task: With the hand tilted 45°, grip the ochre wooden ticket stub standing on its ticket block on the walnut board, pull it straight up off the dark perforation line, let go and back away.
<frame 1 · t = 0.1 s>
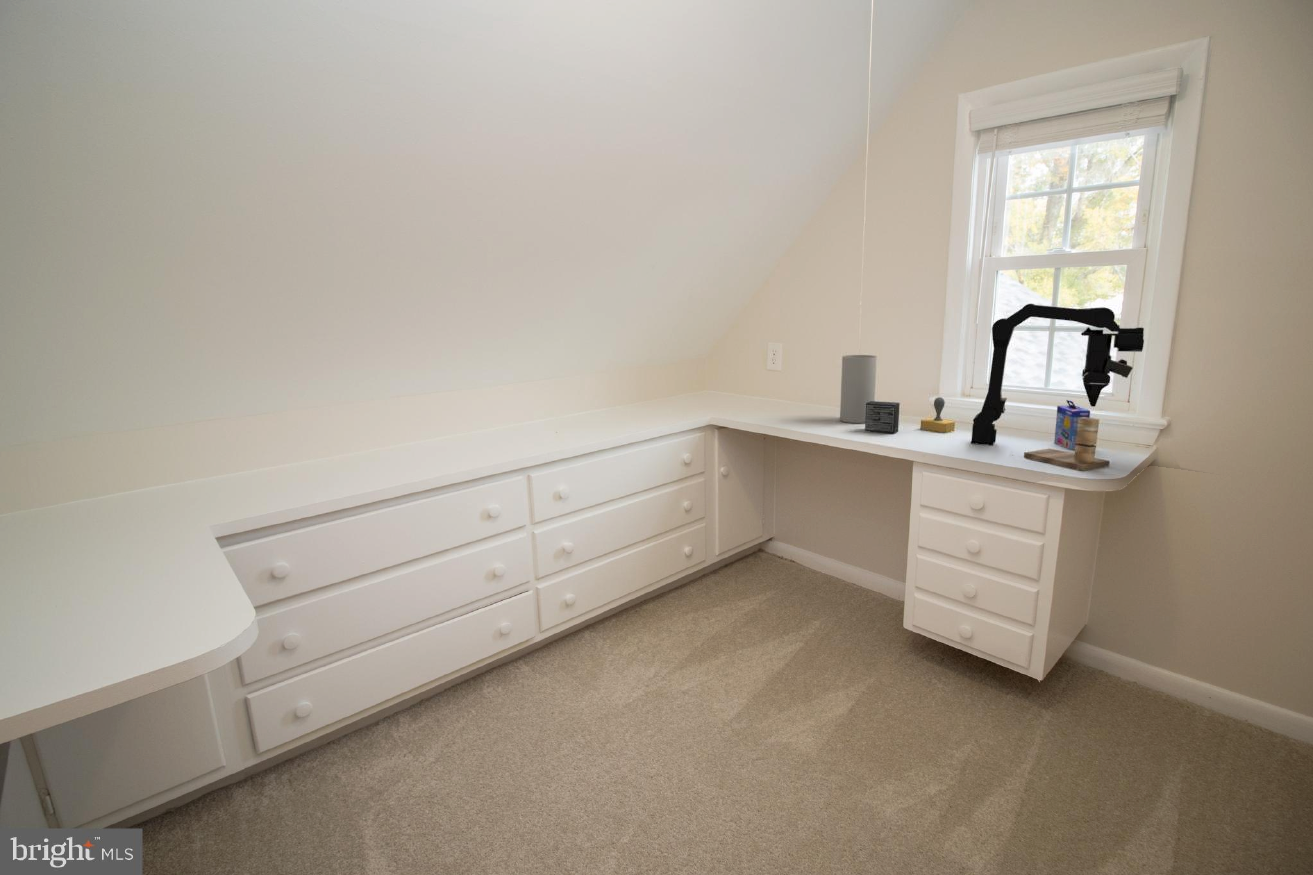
hand: (1092, 404, 192), 15 cm above the table, tool pointing down, fingers open, 9 cm apart
small box: (881, 431, 231), on the table
rubber stamp: (937, 431, 231), on the table
ink cartridge box: (1069, 446, 203), on the table
stub: (1087, 431, 178), point 10 cm above the table, slide at 0.0 cm
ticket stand: (1083, 465, 180), on the table
cylinder vase: (856, 421, 251), on the table
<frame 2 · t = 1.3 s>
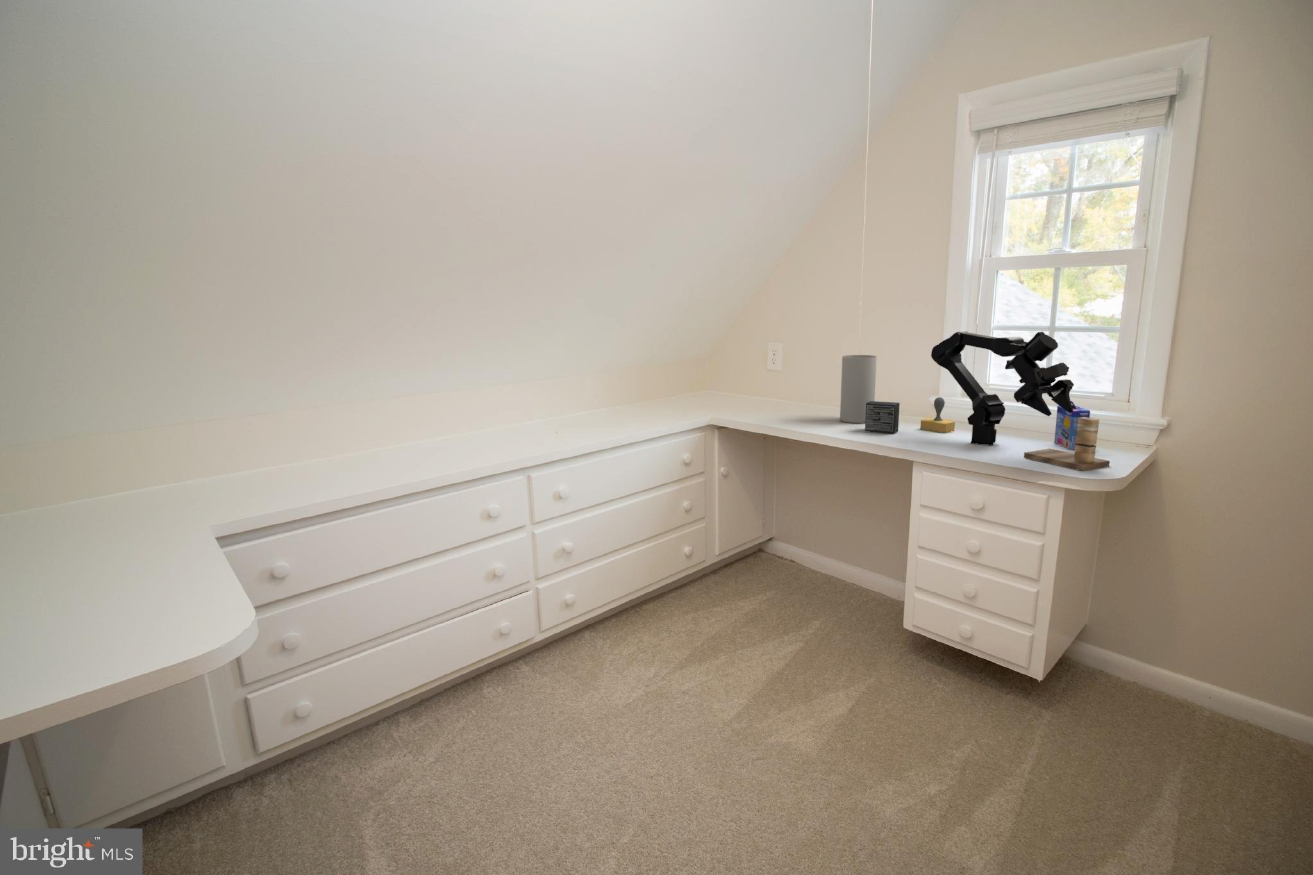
hand: (1061, 413, 184), 13 cm above the table, tool tilted 45°, fingers open, 9 cm apart
nothing on the table moved.
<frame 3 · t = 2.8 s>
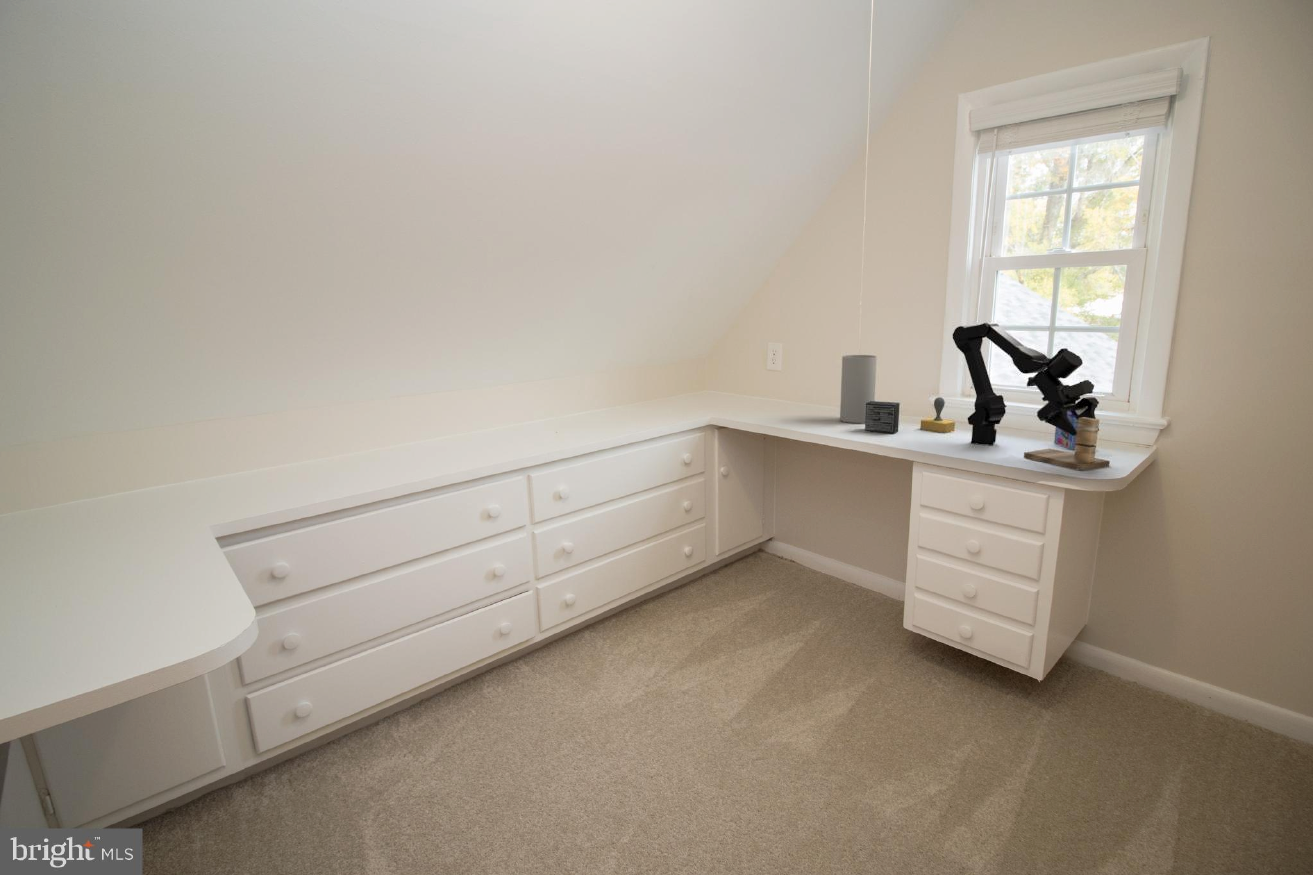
hand: (1086, 433, 178), 9 cm above the table, tool tilted 45°, fingers open, 9 cm apart
nothing on the table moved.
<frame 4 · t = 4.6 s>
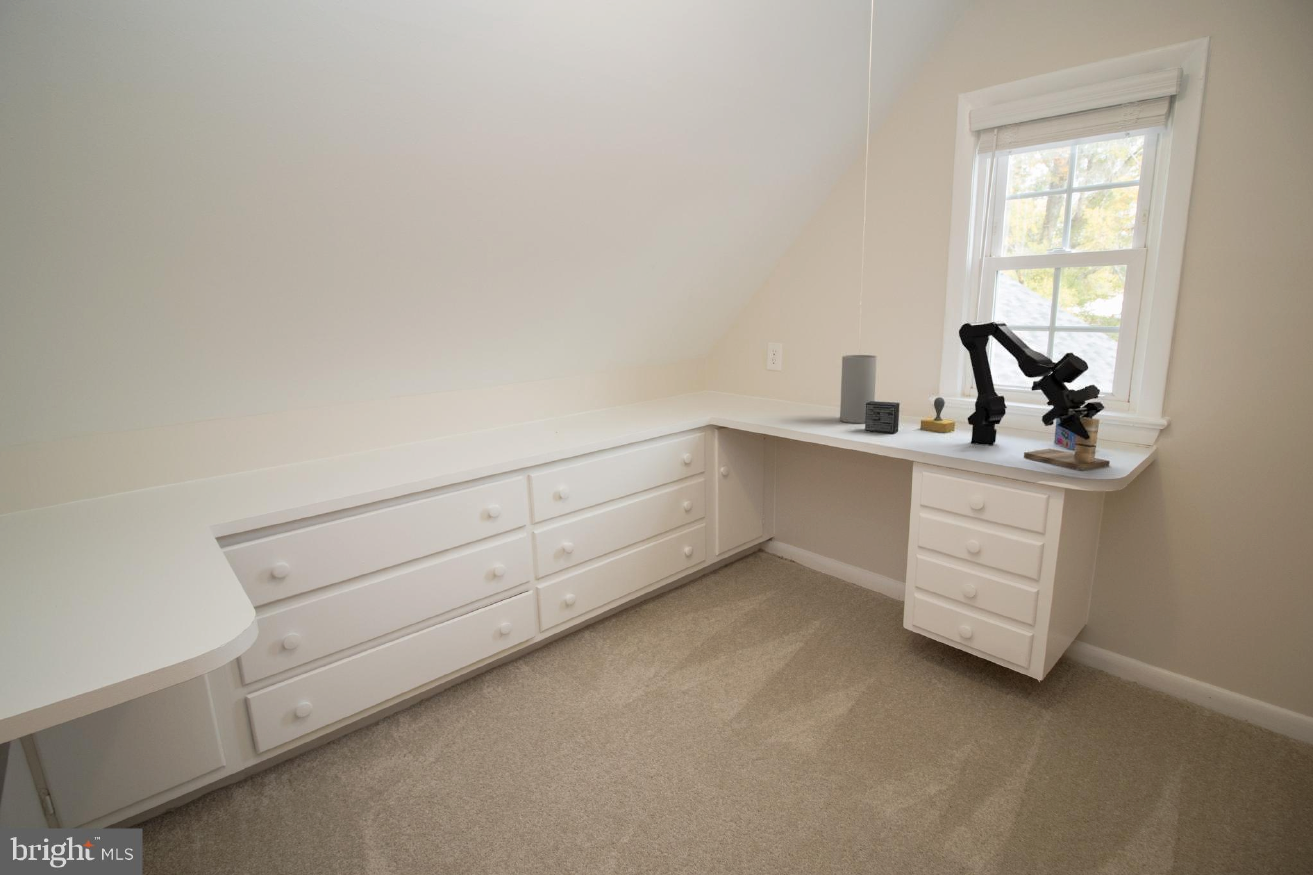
hand: (1091, 438, 177), 8 cm above the table, tool tilted 45°, fingers closed on stub, 2 cm apart
stub: (1087, 431, 178), point 10 cm above the table, slide at 0.0 cm, touching gripper
everything else where it was.
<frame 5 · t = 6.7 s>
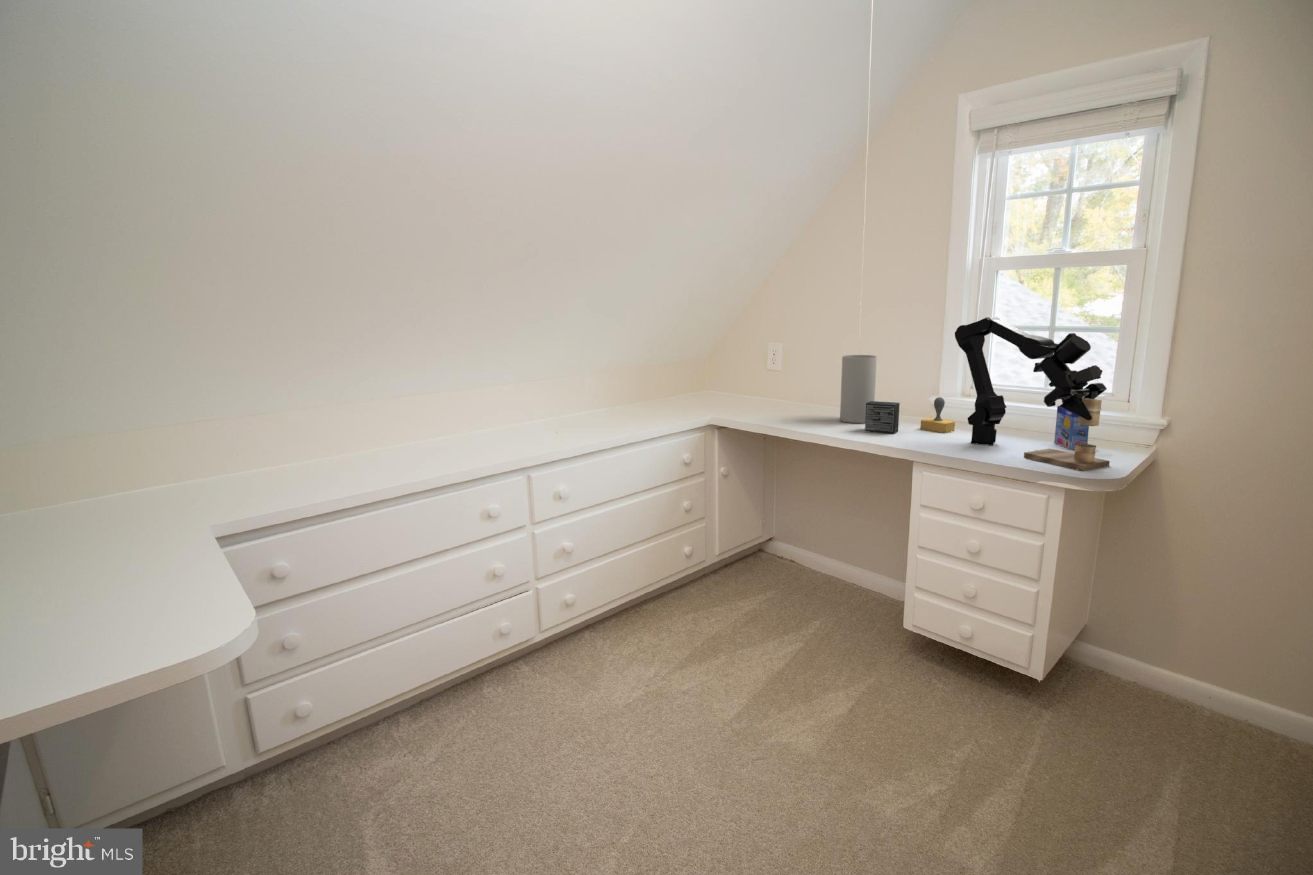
hand: (1093, 419, 176), 13 cm above the table, tool tilted 45°, fingers closed on stub, 2 cm apart
stub: (1089, 412, 177), point 15 cm above the table, slide at 5.3 cm, touching gripper
everything else where it was.
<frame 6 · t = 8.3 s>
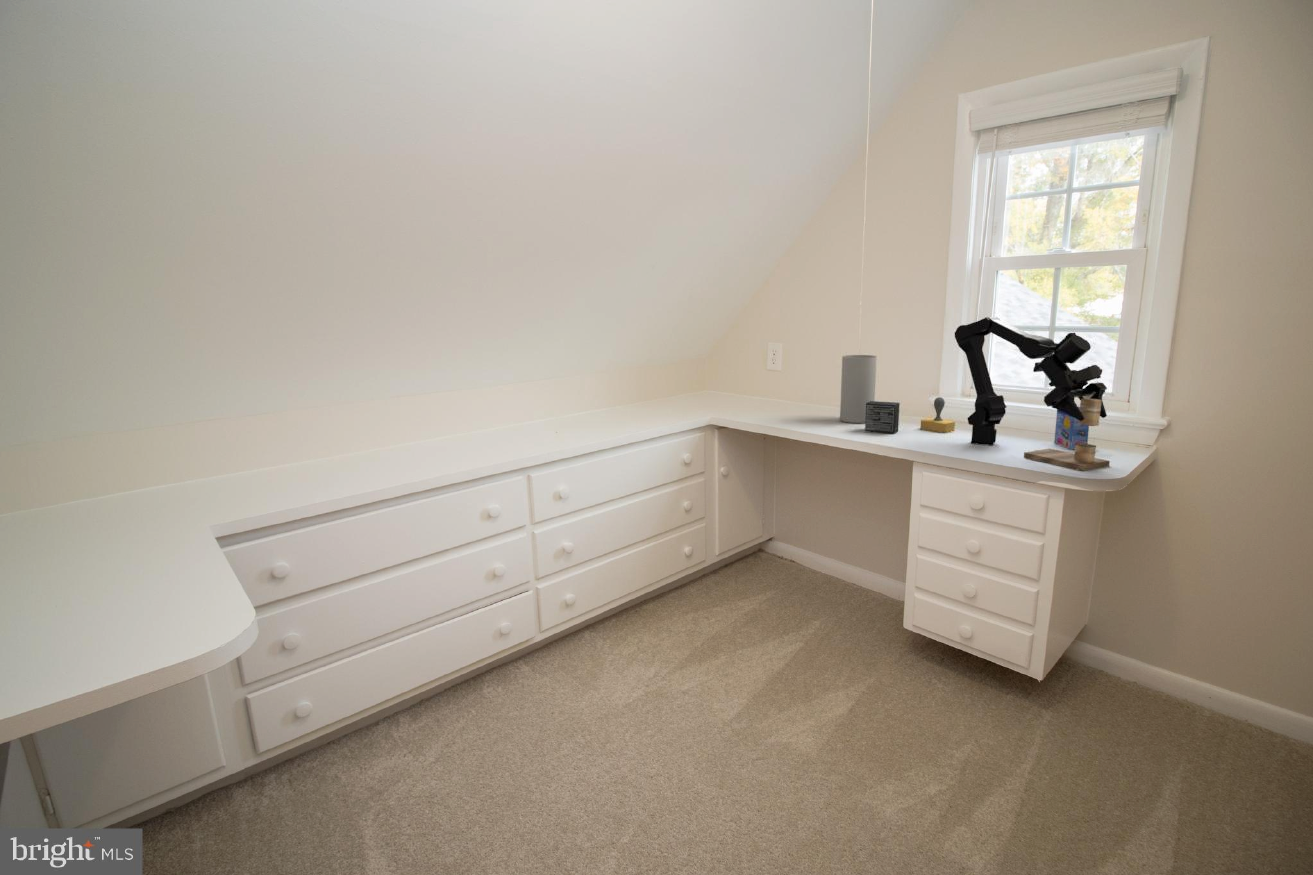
hand: (1094, 418, 176), 14 cm above the table, tool tilted 45°, fingers open, 9 cm apart
stub: (1089, 412, 177), point 15 cm above the table, slide at 5.3 cm
everything else where it was.
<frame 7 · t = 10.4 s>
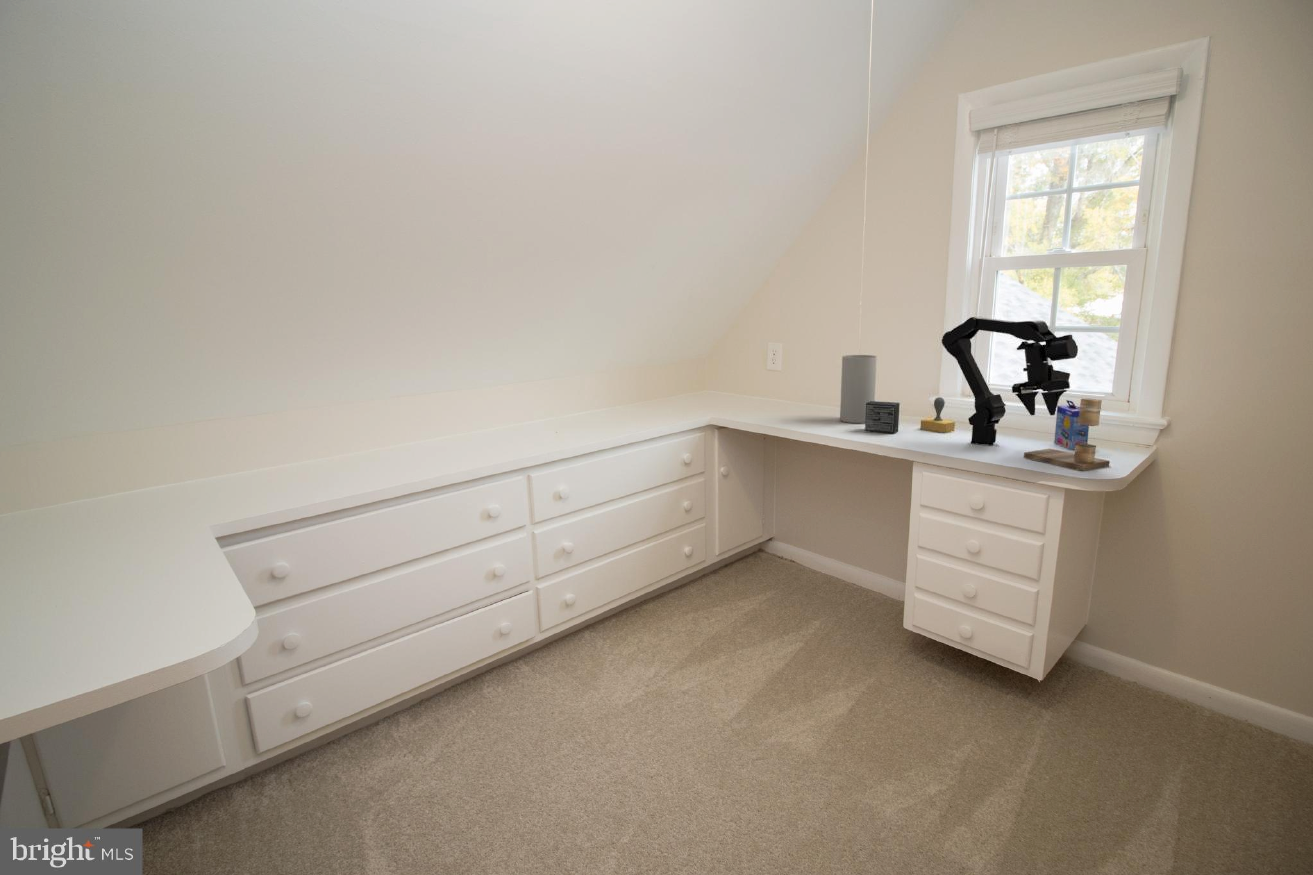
hand: (1042, 415, 192), 12 cm above the table, tool pointing down, fingers open, 9 cm apart
nothing on the table moved.
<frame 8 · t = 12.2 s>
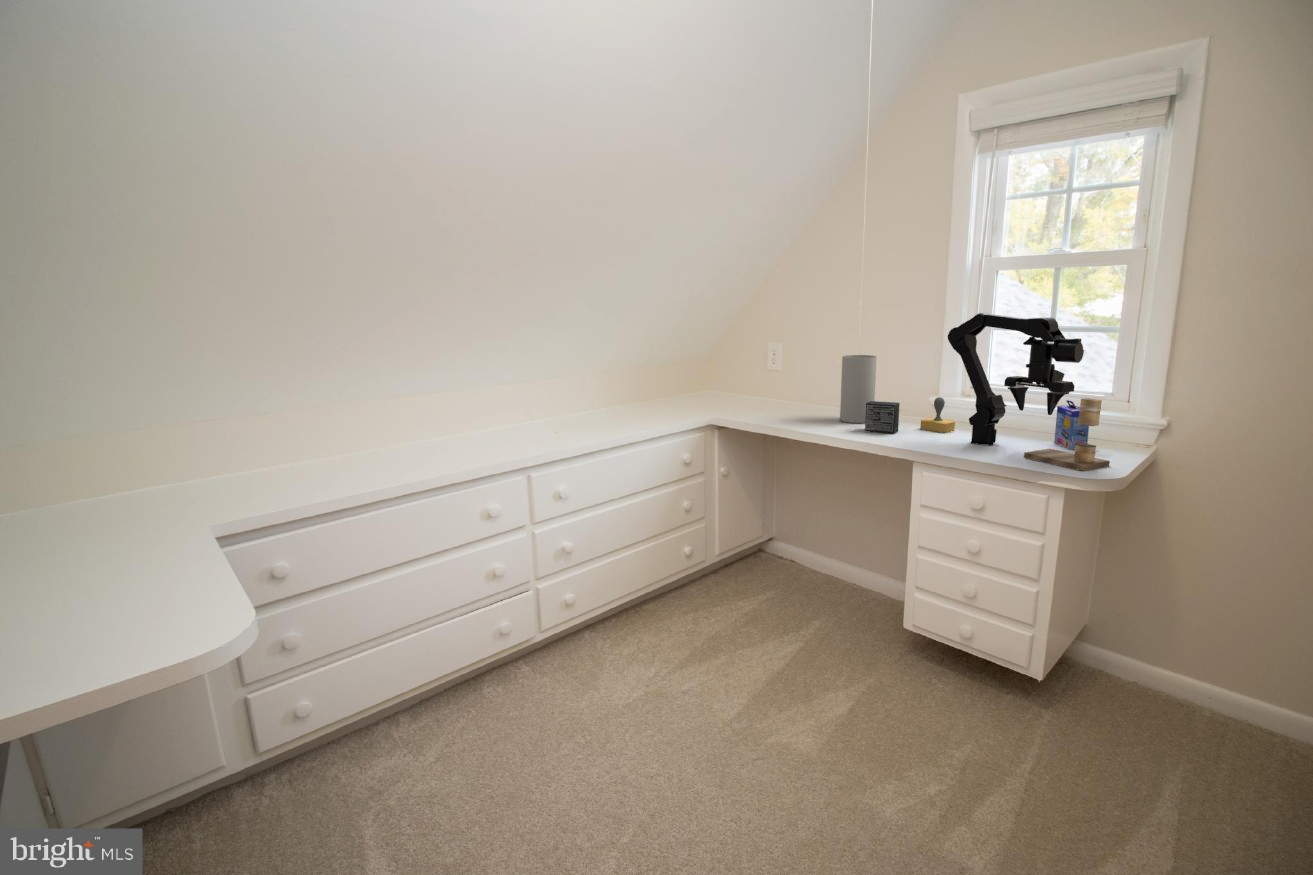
hand: (1035, 412, 195), 12 cm above the table, tool pointing down, fingers open, 9 cm apart
nothing on the table moved.
at the end: stub slide at 5.3 cm; the gripper is holding nothing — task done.
